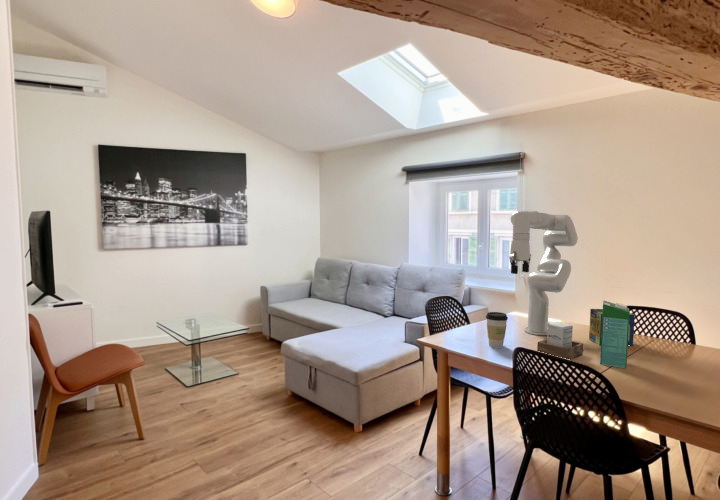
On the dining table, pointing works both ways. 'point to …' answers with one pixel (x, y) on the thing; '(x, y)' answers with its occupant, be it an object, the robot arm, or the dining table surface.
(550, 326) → the supplement box
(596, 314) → the protein box
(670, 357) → the dining table surface
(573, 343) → the bin
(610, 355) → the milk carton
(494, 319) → the coffee cup
